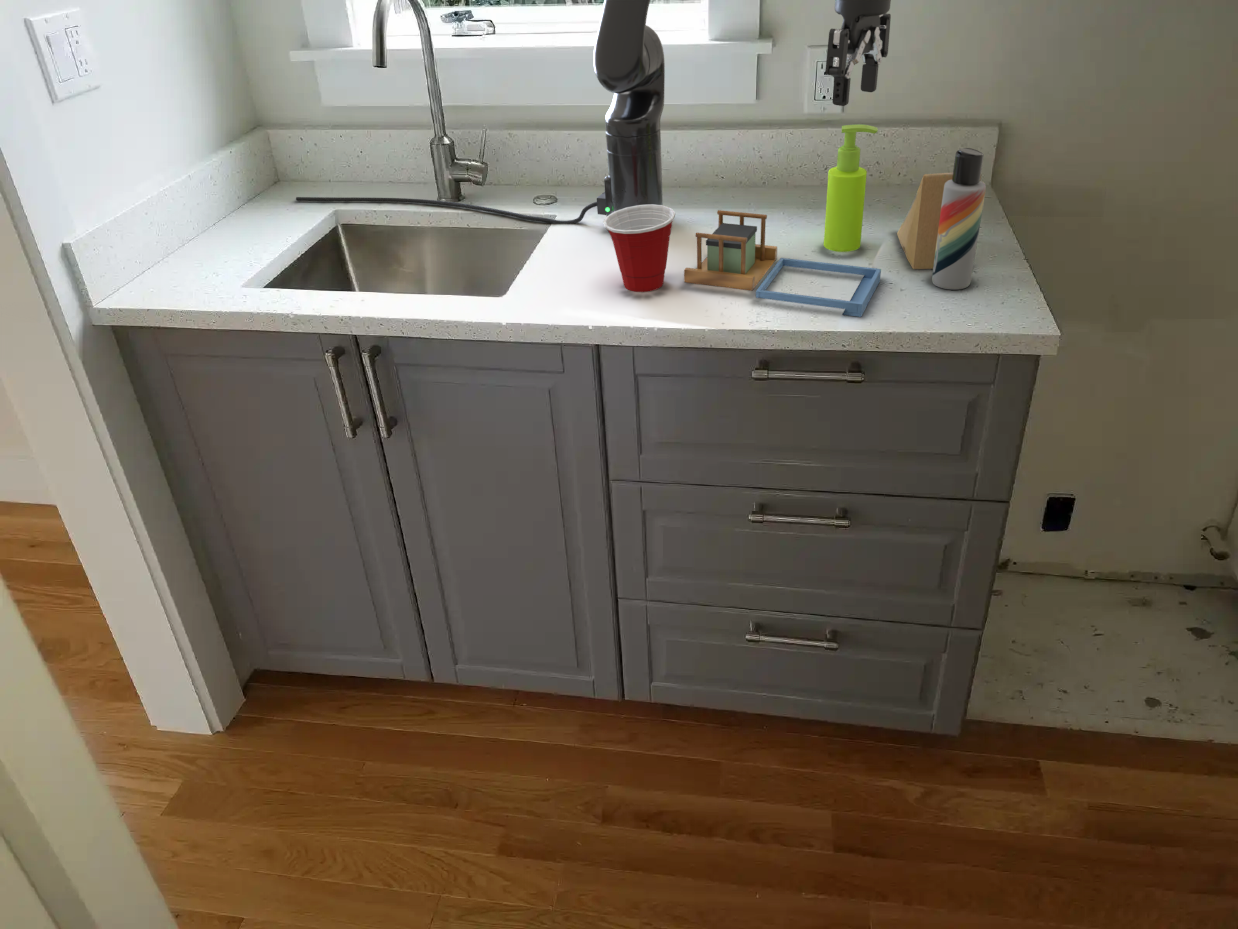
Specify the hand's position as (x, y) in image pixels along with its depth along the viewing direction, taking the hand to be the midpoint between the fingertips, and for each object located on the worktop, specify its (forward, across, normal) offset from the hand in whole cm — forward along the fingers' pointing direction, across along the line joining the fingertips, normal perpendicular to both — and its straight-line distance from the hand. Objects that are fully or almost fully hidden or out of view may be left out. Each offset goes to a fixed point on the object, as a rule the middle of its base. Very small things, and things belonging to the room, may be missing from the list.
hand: (854, 97), depth 142 cm
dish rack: (+26, +14, -12) cm, 31 cm away
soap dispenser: (+26, -4, -2) cm, 26 cm away
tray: (+25, +12, +3) cm, 28 cm away
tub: (+24, +14, -12) cm, 30 cm away
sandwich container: (+25, -12, +10) cm, 30 cm away
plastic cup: (+26, +26, -20) cm, 42 cm away
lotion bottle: (+25, -1, +18) cm, 31 cm away
